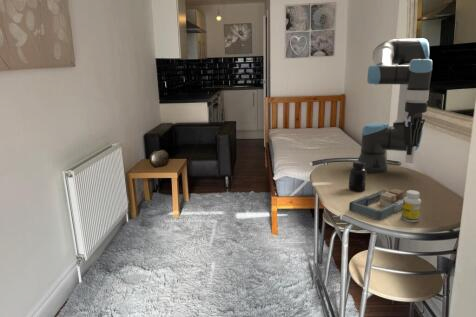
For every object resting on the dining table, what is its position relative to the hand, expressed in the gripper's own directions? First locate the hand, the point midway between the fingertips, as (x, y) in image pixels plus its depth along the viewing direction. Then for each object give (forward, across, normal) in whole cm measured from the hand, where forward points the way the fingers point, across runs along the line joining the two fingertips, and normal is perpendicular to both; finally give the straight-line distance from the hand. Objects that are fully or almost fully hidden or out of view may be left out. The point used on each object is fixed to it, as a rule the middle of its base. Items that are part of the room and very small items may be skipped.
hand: (409, 162), depth 140 cm
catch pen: (+14, +24, 0) cm, 28 cm away
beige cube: (+14, +14, 0) cm, 20 cm away
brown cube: (+14, +8, 0) cm, 16 cm away
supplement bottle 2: (+14, +21, +12) cm, 28 cm away
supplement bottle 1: (+14, +8, -17) cm, 24 cm away
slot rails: (+14, +14, 0) cm, 20 cm away
